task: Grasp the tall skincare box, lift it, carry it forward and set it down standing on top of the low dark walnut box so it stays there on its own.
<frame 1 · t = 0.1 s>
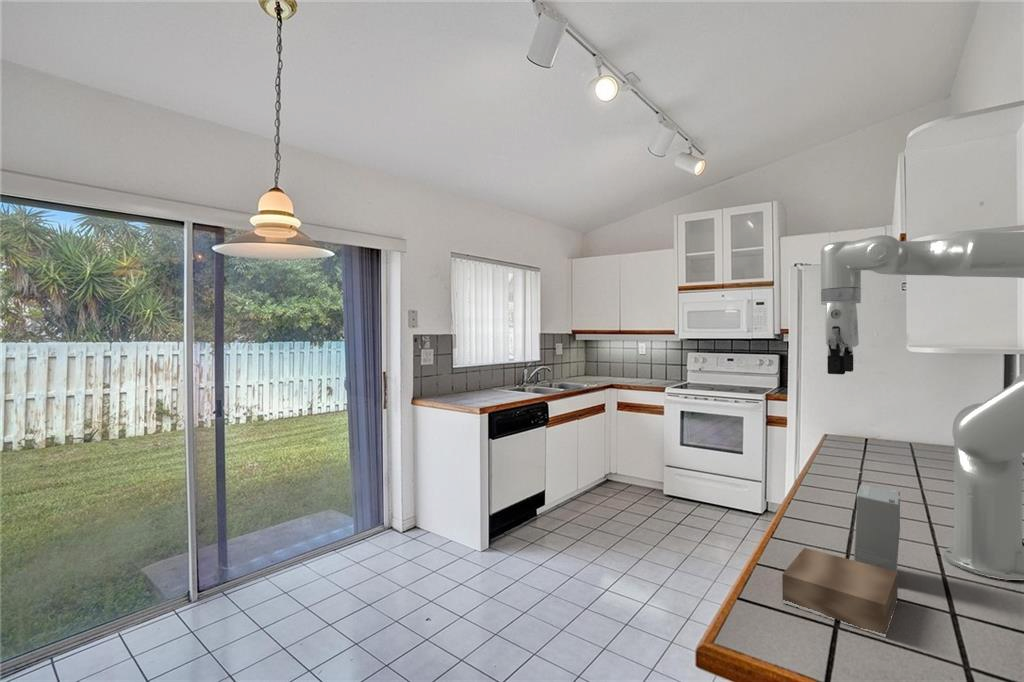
hand: (840, 372, 111), 37 cm above the worktop, tool pointing down, fingers open, 9 cm apart
walnut box: (840, 602, 83), on the worktop
skincare box: (876, 575, 93), on the worktop
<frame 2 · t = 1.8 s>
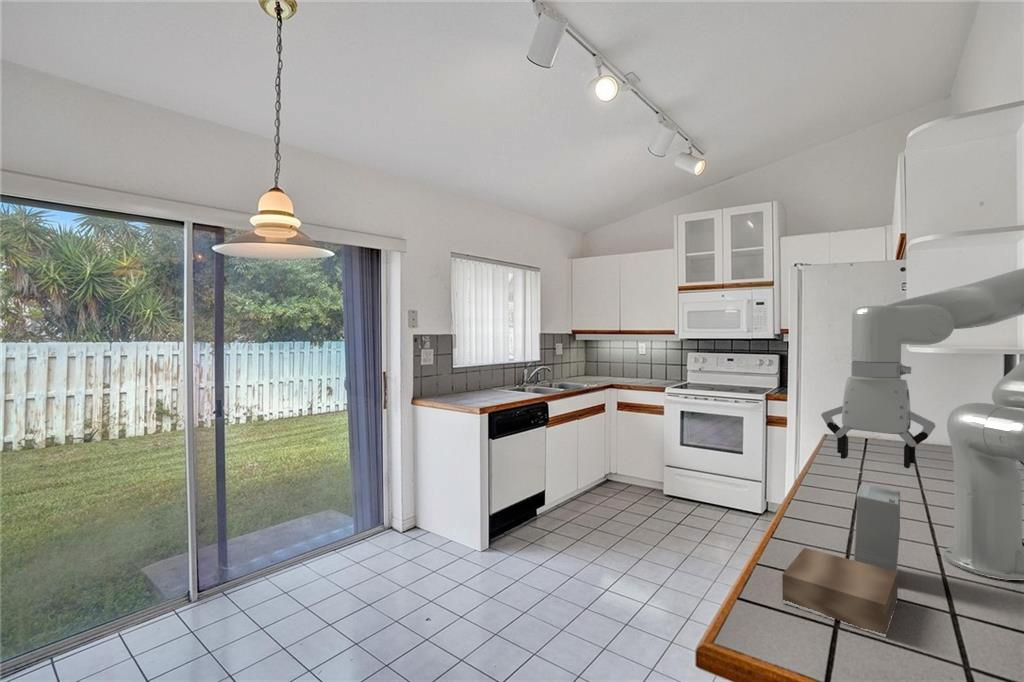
hand: (874, 462, 92), 21 cm above the worktop, tool pointing down, fingers open, 9 cm apart
nothing on the worktop moved.
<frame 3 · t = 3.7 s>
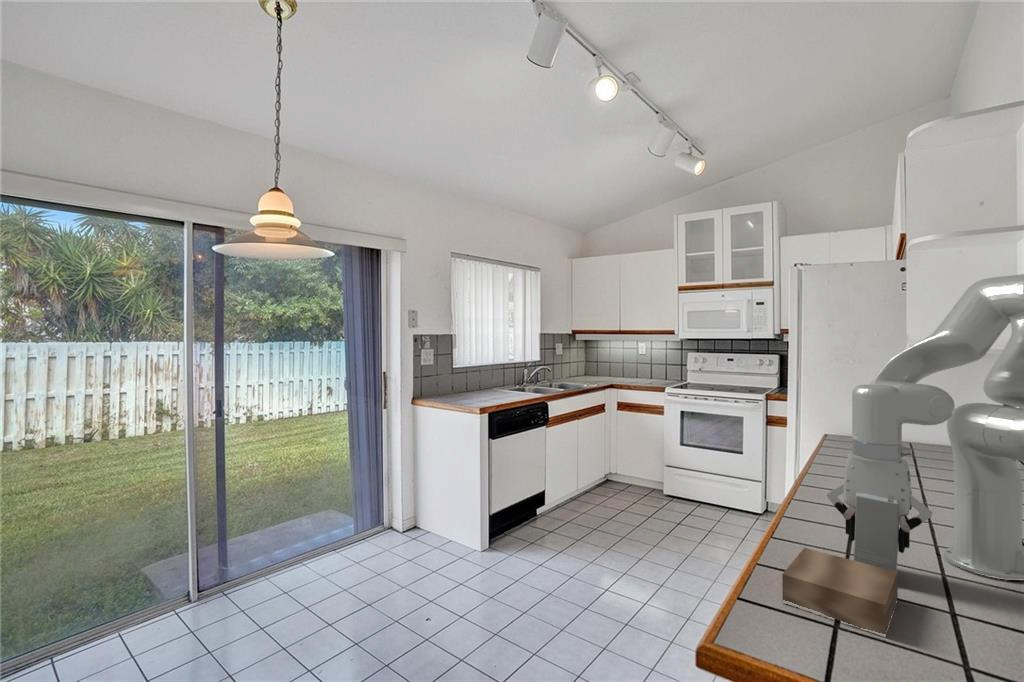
hand: (876, 543, 93), 6 cm above the worktop, tool pointing down, fingers closed on skincare box, 6 cm apart
skincare box: (876, 575, 93), on the worktop, touching gripper
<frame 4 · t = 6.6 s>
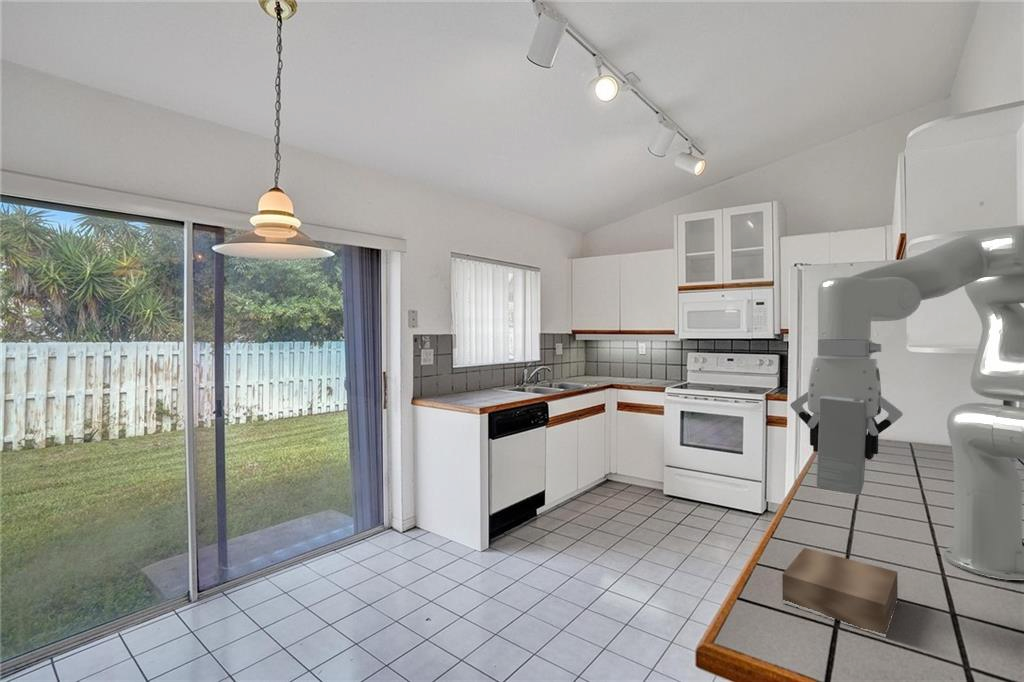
hand: (842, 453, 84), 25 cm above the worktop, tool pointing down, fingers closed on skincare box, 6 cm apart
skincare box: (842, 487, 84), point 19 cm above the worktop, touching gripper
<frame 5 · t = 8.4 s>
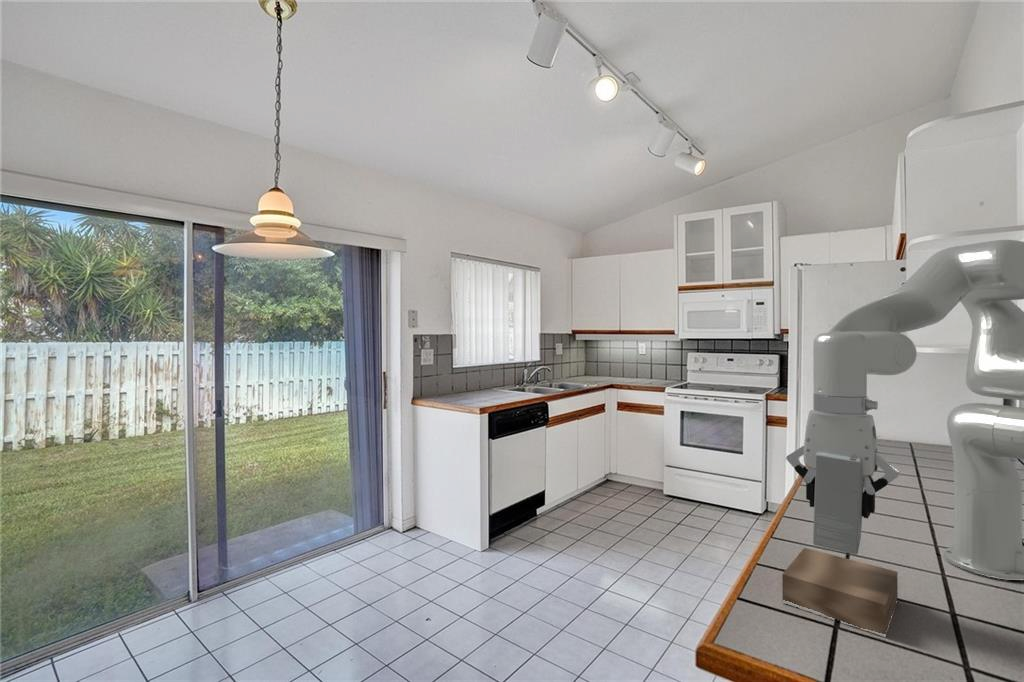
hand: (839, 509, 83), 16 cm above the worktop, tool pointing down, fingers closed on skincare box, 6 cm apart
skincare box: (839, 544, 83), point 10 cm above the worktop, touching gripper
when the fingers open (12 cm above the worktop, at t = 9.7 s): skincare box drops 1 cm, resting on walnut box.
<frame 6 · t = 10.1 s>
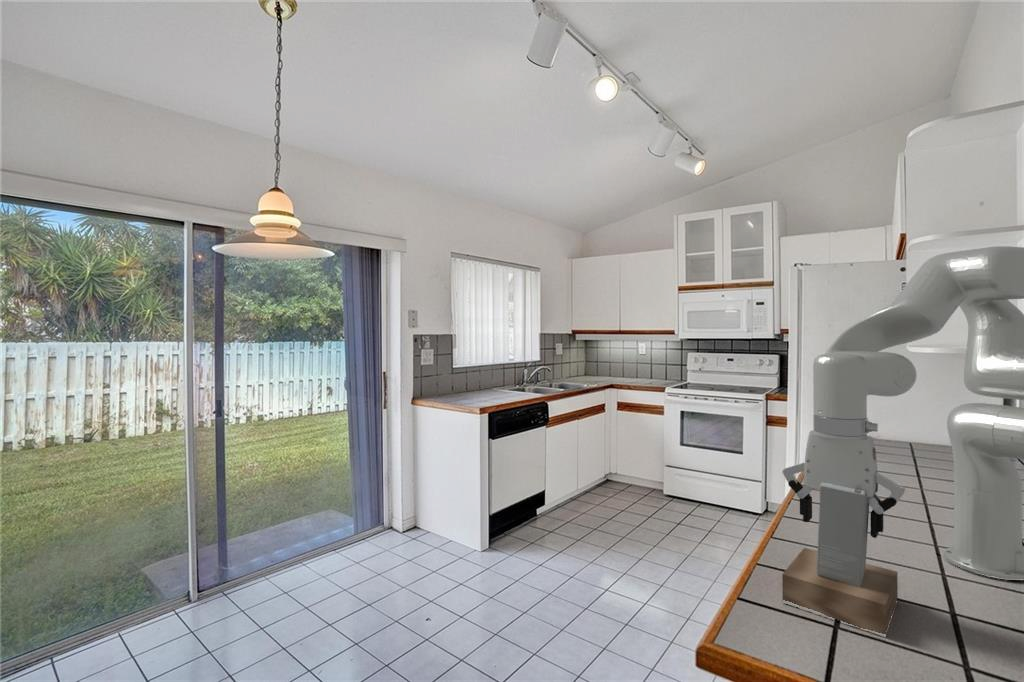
hand: (839, 527, 83), 13 cm above the worktop, tool pointing down, fingers open, 9 cm apart
skincare box: (843, 574, 83), point 5 cm above the worktop, touching walnut box
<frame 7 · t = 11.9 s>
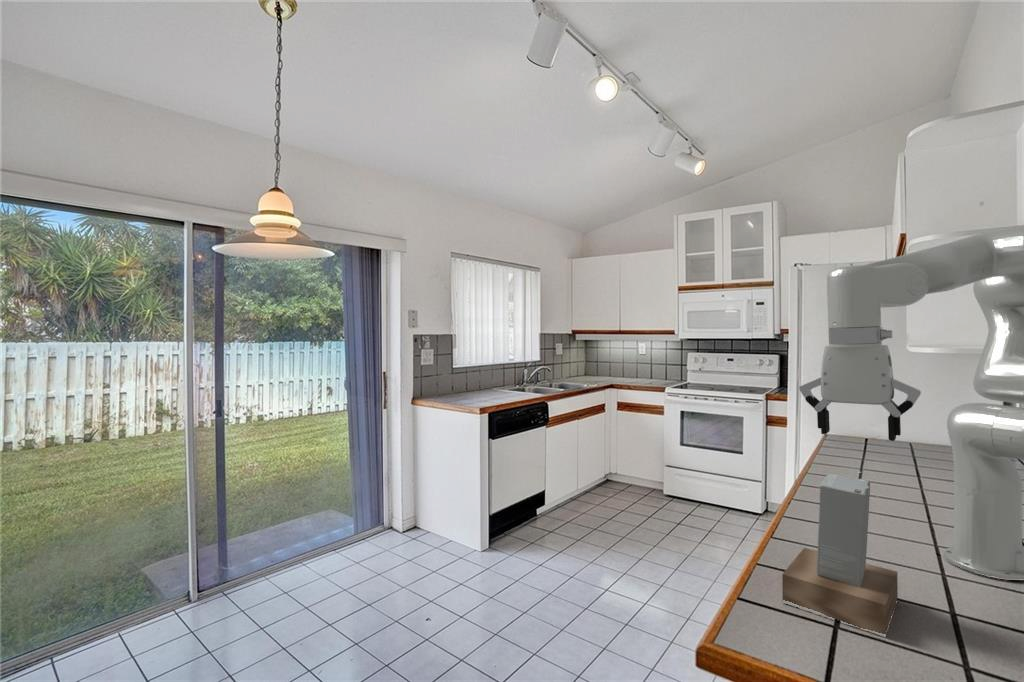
hand: (857, 435, 85), 28 cm above the worktop, tool pointing down, fingers open, 9 cm apart
nothing on the worktop moved.
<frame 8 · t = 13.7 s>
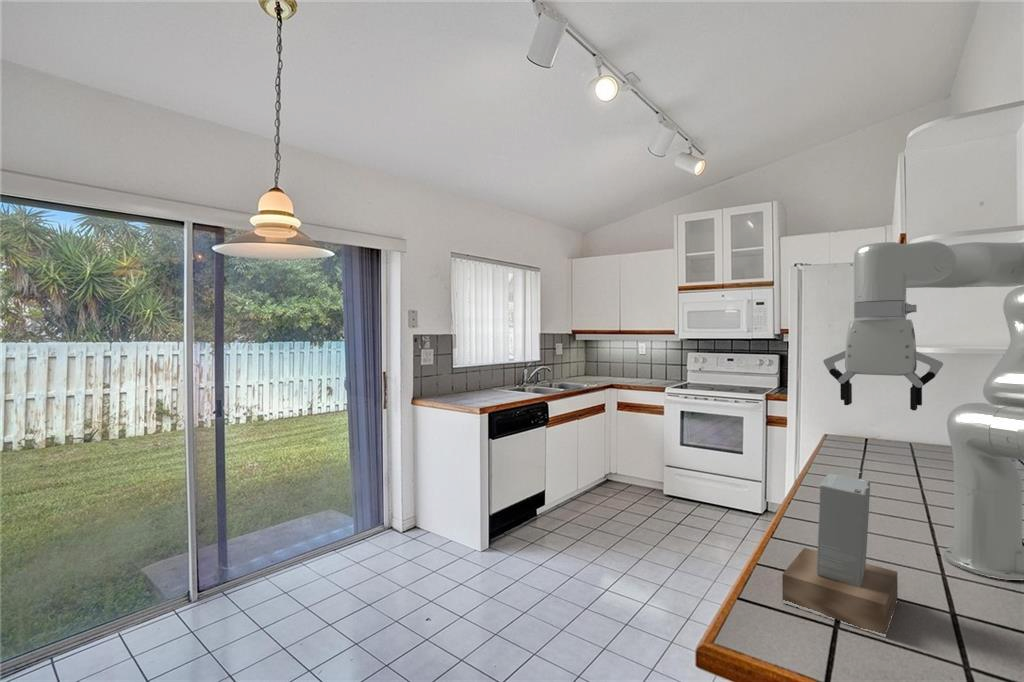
hand: (879, 406, 89), 32 cm above the worktop, tool pointing down, fingers open, 9 cm apart
nothing on the worktop moved.
at the end: skincare box inside the target area on the walnut box (0.5 cm from its centre), point 4.8 cm above the walnut box's base; skincare box tilted 0°; the gripper is holding nothing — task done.
